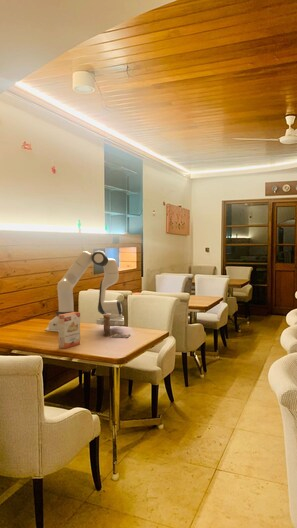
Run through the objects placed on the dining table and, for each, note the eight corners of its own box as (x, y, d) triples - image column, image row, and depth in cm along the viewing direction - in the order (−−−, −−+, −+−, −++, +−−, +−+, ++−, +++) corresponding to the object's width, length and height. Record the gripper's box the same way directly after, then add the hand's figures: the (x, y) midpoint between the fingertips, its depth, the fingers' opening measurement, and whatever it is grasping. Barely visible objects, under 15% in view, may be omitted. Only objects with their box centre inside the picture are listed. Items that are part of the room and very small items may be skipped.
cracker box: (65, 349, 241) (64, 315, 240) (58, 347, 244) (57, 314, 243) (80, 344, 253) (80, 312, 252) (74, 342, 256) (73, 311, 255)
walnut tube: (102, 336, 273) (102, 315, 273) (104, 334, 278) (104, 314, 277) (109, 336, 273) (109, 315, 272) (111, 335, 277) (110, 314, 277)
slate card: (110, 337, 271) (110, 336, 271) (113, 334, 279) (113, 333, 279) (127, 338, 269) (127, 336, 269) (130, 335, 277) (130, 334, 277)
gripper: (99, 315, 293) (93, 319, 279) (125, 316, 289) (121, 319, 276) (99, 323, 293) (93, 327, 279) (125, 324, 290) (121, 328, 276)
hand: (107, 323), depth 278 cm, fingers open, 8 cm apart
